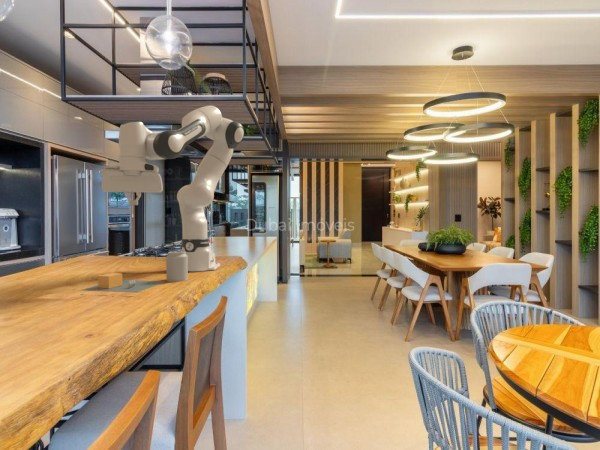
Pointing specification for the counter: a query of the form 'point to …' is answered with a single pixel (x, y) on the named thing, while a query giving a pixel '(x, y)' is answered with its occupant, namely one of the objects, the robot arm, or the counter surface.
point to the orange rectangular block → (109, 280)
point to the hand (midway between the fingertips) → (133, 205)
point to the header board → (128, 286)
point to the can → (177, 266)
